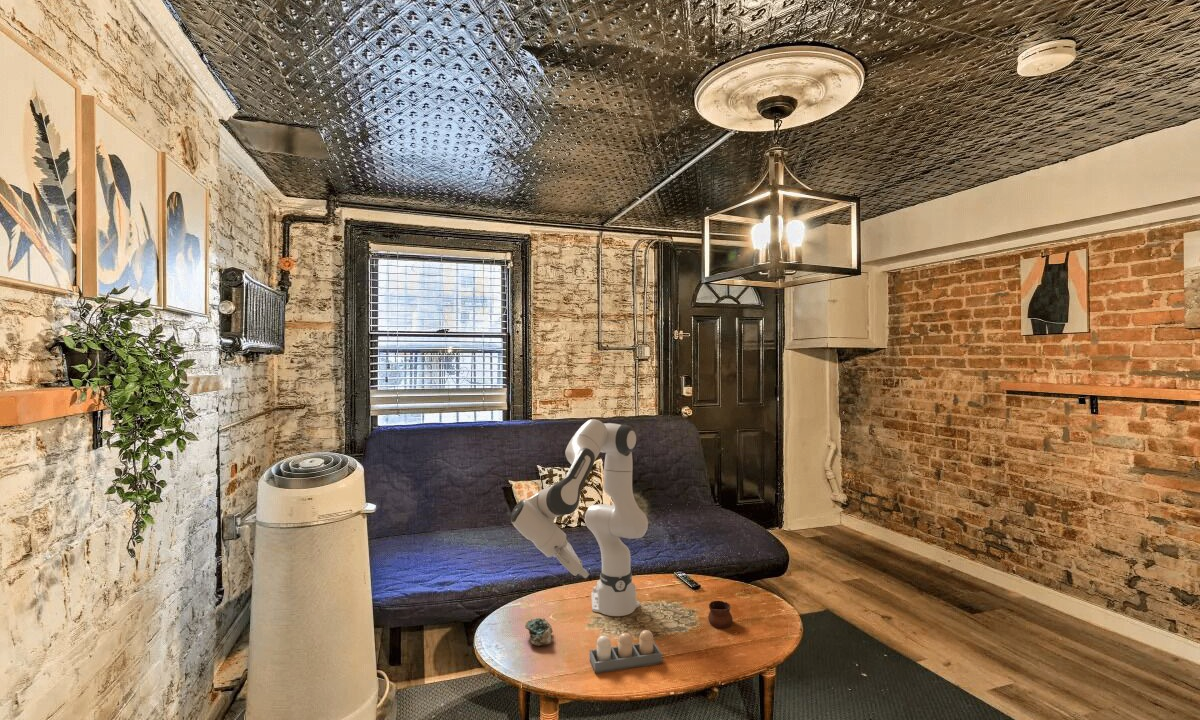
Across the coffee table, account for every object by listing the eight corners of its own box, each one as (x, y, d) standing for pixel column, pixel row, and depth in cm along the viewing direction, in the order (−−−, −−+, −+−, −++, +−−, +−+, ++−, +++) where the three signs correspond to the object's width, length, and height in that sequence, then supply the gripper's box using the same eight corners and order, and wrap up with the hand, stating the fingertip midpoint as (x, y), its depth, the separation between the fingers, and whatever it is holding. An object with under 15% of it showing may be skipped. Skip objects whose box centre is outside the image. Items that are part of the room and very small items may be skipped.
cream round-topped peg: (595, 659, 174) (595, 633, 174) (608, 657, 175) (608, 632, 175) (598, 667, 170) (598, 641, 169) (612, 665, 171) (612, 639, 170)
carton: (589, 660, 175) (589, 632, 175) (653, 650, 180) (653, 623, 180) (595, 673, 168) (594, 644, 167) (661, 663, 173) (661, 635, 173)
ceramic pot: (688, 629, 195) (688, 609, 194) (703, 608, 210) (703, 590, 210) (739, 641, 186) (739, 621, 186) (751, 619, 202) (751, 600, 202)
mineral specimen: (524, 630, 192) (523, 613, 189) (549, 624, 195) (549, 606, 192) (532, 660, 182) (531, 642, 179) (558, 652, 184) (558, 634, 181)
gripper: (565, 545, 162) (598, 575, 165) (554, 524, 182) (584, 551, 185) (551, 562, 161) (584, 591, 164) (541, 539, 181) (571, 565, 184)
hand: (583, 569), depth 174 cm, fingers open, 8 cm apart
